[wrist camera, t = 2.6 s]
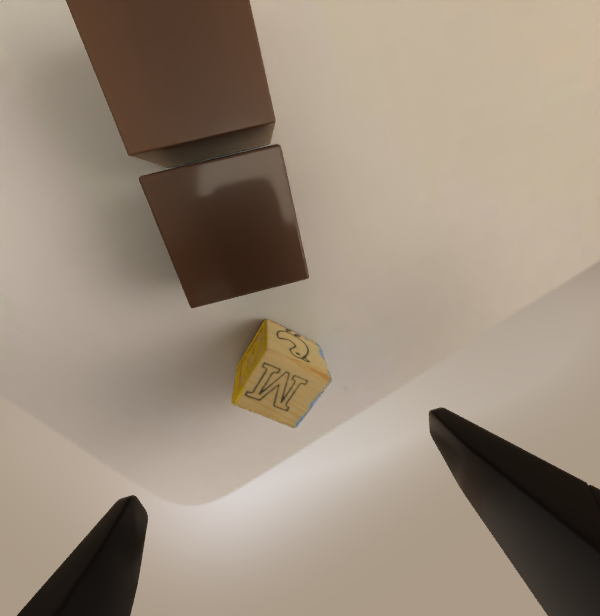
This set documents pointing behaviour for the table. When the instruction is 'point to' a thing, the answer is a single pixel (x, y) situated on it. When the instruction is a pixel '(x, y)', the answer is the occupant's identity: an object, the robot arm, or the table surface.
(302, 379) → the alphabet block
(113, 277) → the table surface
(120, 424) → the table surface
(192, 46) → the brown double block
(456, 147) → the table surface
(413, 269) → the table surface
